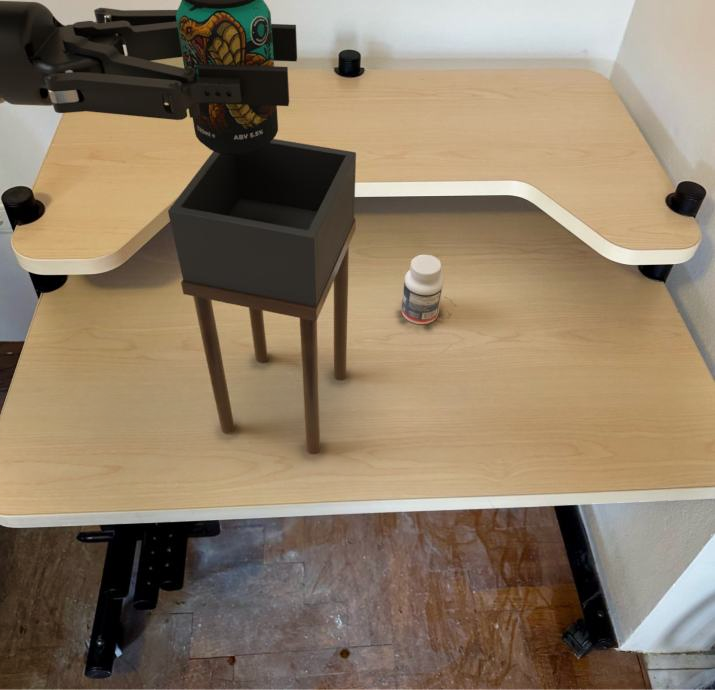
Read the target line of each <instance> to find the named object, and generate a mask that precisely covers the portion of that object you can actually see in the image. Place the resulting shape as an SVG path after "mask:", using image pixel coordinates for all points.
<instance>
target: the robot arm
mask: <svg viewBox="0 0 715 690" xmlns="http://www.w3.org/2000/svg"><path fill="white" fill-rule="evenodd" d="M177 10H178V9H129V10H128V9H127V10H125V9H124V10H123V9H117V8H116V9H115V8H109V7H98V8H95V9H94V10H93V13H94V16H95V21H93V20H83V21H76V22H74V23H73V24H66V25H65V24H62V23H61V22H60V21H59V20H58V19H57V18H56V17H55V16H54V14H53V12H52V11H51V10H50V9H49V8H48V7H47V6H46V5H44V4H42V3H41V2H38V1H22V0H21V1H19V0H17V1H16V0H0V104H4V103H5V102H7V103H8V104H10V105H14V106H41V107H44V106H45V107H51V106H52V107H53V110H54V113H57V114H69V113H71V114H72V113H82V112H88V113H89V112H90V113H99V114H100V113H101V114H109V115H110V114H111V115H121V116H129V117H131V116H132V117H141V118H153V119H161V120H174V121H181V120H184V119H186V118H187V117H188V116H189V118H191V119H193V118H196V117H199V116H201V115H202V111H201V104H200V102H203V103H210V104H239V105H268V106H277V107H289V105H290V89H289V87H290V85H289V69H288V66H276V65H274V66H248V65H215V64H199V67H198V73H199V76H196V72H195V71H193V70H189V69H185V68H184V67H180V66H176V65H171V64H167V63H161V62H157V61H160V60H169V59H178V58H183V57H182V51H181V45H180V39H179V33H178V27H177V21H176V14H177ZM271 27H272V42H273V57H274V62H297V61H298V44H297V43H298V42H297V39H298V38H297V25H296V24H287V23H286V24H285V23H284V24H282V23H280V24H279V23H271ZM124 46H125V48H124ZM125 49H126V53H125ZM187 110H188V111H187ZM188 114H189V115H188Z"/></svg>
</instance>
